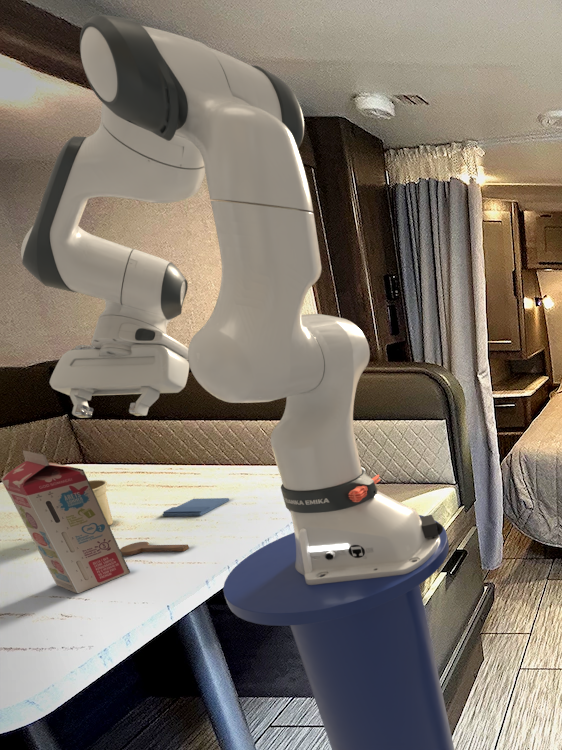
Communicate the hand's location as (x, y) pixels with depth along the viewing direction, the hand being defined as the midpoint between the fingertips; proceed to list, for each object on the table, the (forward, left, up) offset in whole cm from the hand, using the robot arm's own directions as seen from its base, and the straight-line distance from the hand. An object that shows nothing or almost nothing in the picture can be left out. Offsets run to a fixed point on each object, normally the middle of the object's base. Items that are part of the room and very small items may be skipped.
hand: (109, 415), depth 85 cm
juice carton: (+1, +12, -25) cm, 28 cm away
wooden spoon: (-1, +3, -25) cm, 25 cm away
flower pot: (+21, -7, -25) cm, 33 cm away
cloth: (+7, -16, -25) cm, 30 cm away
